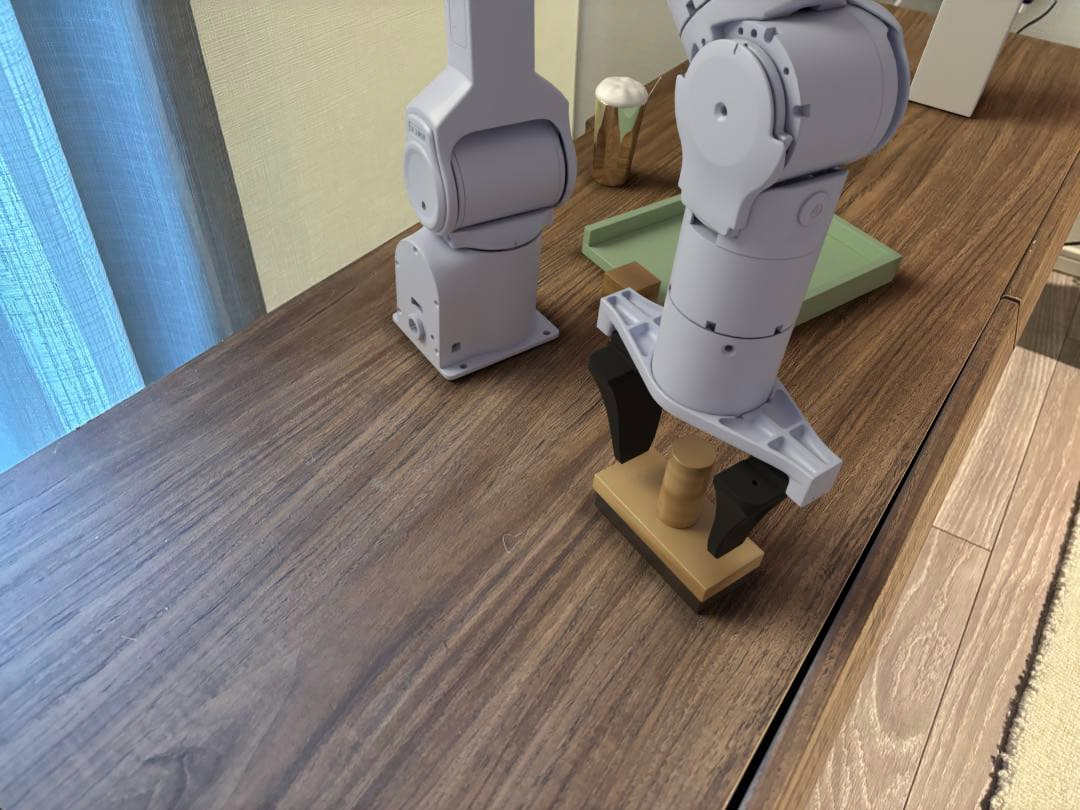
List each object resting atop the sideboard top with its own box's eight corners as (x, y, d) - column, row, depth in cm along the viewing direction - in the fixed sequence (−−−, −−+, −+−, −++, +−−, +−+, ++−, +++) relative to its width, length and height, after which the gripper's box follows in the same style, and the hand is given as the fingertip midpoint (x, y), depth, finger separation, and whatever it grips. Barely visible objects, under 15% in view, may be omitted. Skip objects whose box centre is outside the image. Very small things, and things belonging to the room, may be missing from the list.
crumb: (624, 325, 65) (630, 293, 63) (599, 304, 66) (604, 271, 64) (655, 313, 66) (661, 281, 64) (629, 292, 68) (635, 260, 66)
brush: (696, 619, 47) (727, 530, 42) (589, 503, 52) (605, 412, 47) (753, 581, 49) (790, 492, 44) (644, 474, 54) (666, 383, 49)
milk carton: (969, 119, 96) (1053, -72, 82) (904, 100, 98) (976, -88, 85) (980, 96, 100) (1061, -88, 87) (918, 79, 102) (988, -103, 89)
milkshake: (640, 195, 79) (658, 87, 72) (581, 185, 79) (594, 77, 72) (645, 171, 82) (664, 66, 75) (589, 162, 82) (602, 56, 75)
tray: (717, 363, 62) (725, 337, 61) (581, 252, 71) (584, 226, 70) (892, 281, 72) (903, 255, 70) (752, 191, 81) (759, 167, 79)
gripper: (925, 360, 36) (826, 557, 45) (688, 197, 44) (645, 393, 53) (811, 424, 33) (730, 622, 42) (577, 235, 41) (552, 437, 50)
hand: (676, 498), depth 48 cm, fingers open, 7 cm apart
